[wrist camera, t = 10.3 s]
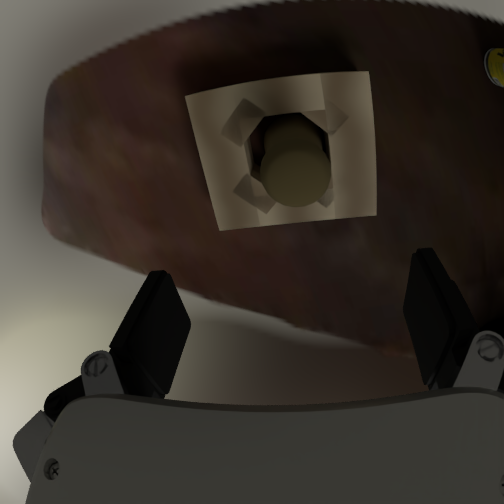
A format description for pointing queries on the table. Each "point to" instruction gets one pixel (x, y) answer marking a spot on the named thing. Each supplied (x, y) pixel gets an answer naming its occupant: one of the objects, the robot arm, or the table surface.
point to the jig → (281, 102)
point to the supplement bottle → (495, 65)
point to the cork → (294, 162)
